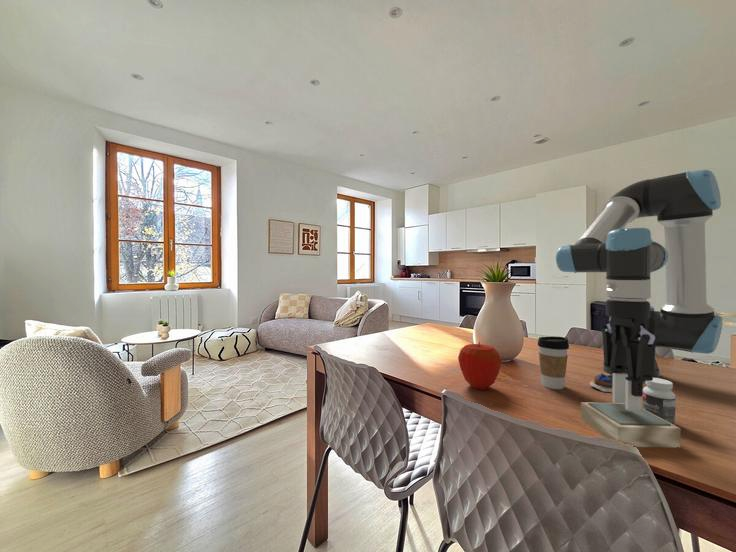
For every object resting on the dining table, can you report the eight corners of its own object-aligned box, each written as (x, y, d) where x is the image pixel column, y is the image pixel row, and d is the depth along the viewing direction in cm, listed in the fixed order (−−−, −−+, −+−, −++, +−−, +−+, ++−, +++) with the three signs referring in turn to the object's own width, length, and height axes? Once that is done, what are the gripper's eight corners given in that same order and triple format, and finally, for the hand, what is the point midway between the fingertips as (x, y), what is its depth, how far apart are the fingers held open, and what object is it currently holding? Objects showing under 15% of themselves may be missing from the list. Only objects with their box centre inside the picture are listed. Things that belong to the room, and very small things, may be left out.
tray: (632, 419, 75) (632, 402, 75) (680, 448, 63) (680, 426, 63) (580, 418, 75) (580, 401, 75) (618, 446, 63) (618, 425, 63)
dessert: (602, 378, 100) (614, 368, 96) (618, 398, 95) (631, 388, 91) (581, 381, 98) (592, 370, 94) (596, 401, 93) (608, 391, 89)
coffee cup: (573, 392, 92) (574, 341, 92) (542, 390, 94) (542, 340, 94) (562, 382, 100) (562, 335, 100) (533, 380, 102) (533, 334, 102)
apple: (506, 386, 96) (507, 341, 96) (491, 398, 88) (491, 348, 87) (468, 377, 105) (468, 335, 105) (451, 387, 96) (451, 341, 96)
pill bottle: (635, 417, 76) (636, 376, 76) (657, 416, 77) (657, 376, 77) (659, 429, 70) (660, 385, 70) (682, 428, 71) (683, 384, 71)
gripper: (585, 296, 77) (585, 391, 77) (639, 302, 61) (638, 423, 61) (617, 296, 77) (616, 392, 77) (680, 303, 60) (678, 424, 61)
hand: (626, 405), depth 69 cm, fingers open, 3 cm apart
